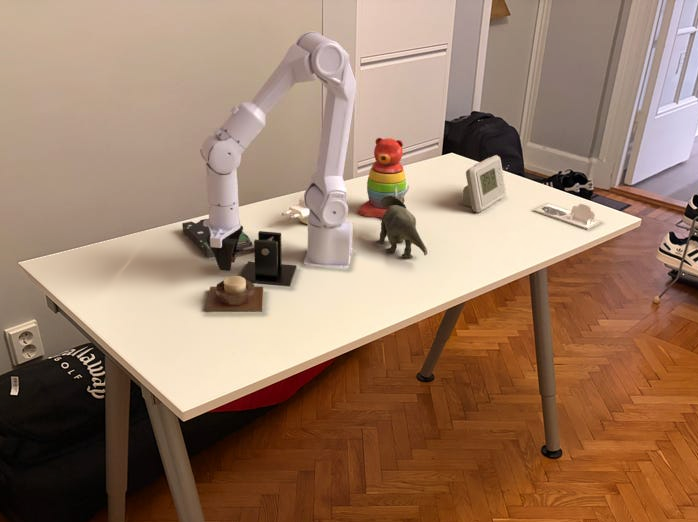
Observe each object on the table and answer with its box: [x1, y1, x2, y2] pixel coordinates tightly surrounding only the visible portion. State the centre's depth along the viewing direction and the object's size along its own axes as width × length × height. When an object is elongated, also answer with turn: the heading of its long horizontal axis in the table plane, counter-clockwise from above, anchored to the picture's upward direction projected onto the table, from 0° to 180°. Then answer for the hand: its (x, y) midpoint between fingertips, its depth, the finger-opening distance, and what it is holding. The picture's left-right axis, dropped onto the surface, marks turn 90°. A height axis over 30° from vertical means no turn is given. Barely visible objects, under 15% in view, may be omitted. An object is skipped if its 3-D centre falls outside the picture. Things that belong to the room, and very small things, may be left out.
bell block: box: [206, 280, 264, 313], centre depth 134 cm, size 10×8×4 cm
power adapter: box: [281, 196, 309, 225], centre depth 166 cm, size 11×5×6 cm, turn 137°
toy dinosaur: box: [375, 184, 428, 259], centre depth 156 cm, size 22×8×11 cm, turn 12°
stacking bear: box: [357, 137, 407, 219], centre depth 171 cm, size 11×10×18 cm
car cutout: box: [533, 202, 602, 231], centre depth 179 cm, size 15×7×4 cm, turn 47°
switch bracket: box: [240, 230, 297, 287], centre depth 142 cm, size 10×8×9 cm
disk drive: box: [181, 218, 253, 259], centre depth 156 cm, size 10×3×15 cm
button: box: [223, 275, 246, 293], centre depth 133 cm, size 4×4×2 cm
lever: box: [232, 236, 275, 262], centre depth 142 cm, size 12×3×3 cm, turn 85°
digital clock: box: [461, 154, 507, 213], centre depth 182 cm, size 16×9×11 cm, turn 134°
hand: (227, 265), depth 144 cm, fingers closed on lever, 3 cm apart
